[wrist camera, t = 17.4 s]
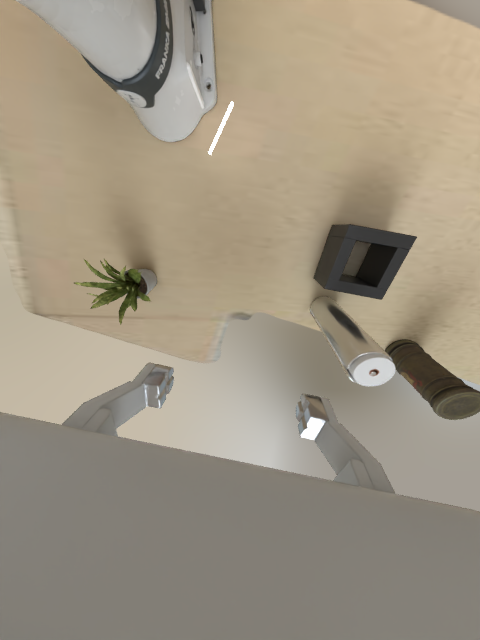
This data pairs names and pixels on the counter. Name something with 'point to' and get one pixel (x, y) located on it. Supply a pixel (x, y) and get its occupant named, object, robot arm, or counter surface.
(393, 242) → the box
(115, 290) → the house plant
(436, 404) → the container
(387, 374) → the silver tall cylinder
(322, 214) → the counter surface
